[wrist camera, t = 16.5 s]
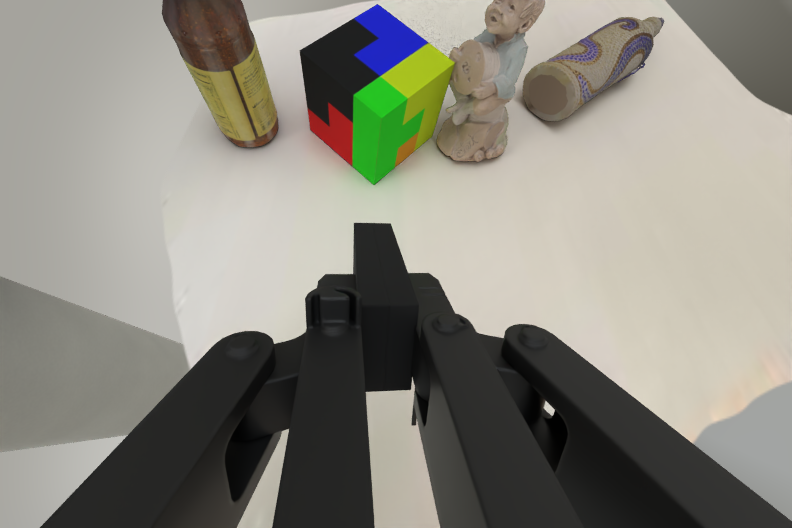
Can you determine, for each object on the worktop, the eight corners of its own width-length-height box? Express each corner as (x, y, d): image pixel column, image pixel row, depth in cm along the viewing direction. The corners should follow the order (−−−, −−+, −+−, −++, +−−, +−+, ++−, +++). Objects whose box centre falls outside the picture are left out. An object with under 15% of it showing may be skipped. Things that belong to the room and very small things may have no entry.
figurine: (475, 102, 46) (563, -102, 28) (515, 151, 44) (639, -34, 25) (417, 126, 43) (471, -83, 25) (457, 179, 41) (548, -6, 23)
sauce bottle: (268, 100, 42) (207, -135, 24) (288, 141, 40) (238, -78, 22) (211, 115, 40) (96, -126, 22) (228, 159, 39) (120, -63, 20)
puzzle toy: (371, 86, 45) (377, 4, 36) (432, 136, 43) (455, 62, 34) (310, 129, 41) (299, 50, 32) (373, 185, 40) (381, 118, 30)
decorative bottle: (554, 136, 46) (585, 94, 39) (512, 97, 47) (536, 51, 41) (664, 59, 54) (705, 14, 48) (625, 28, 55) (660, -19, 49)
